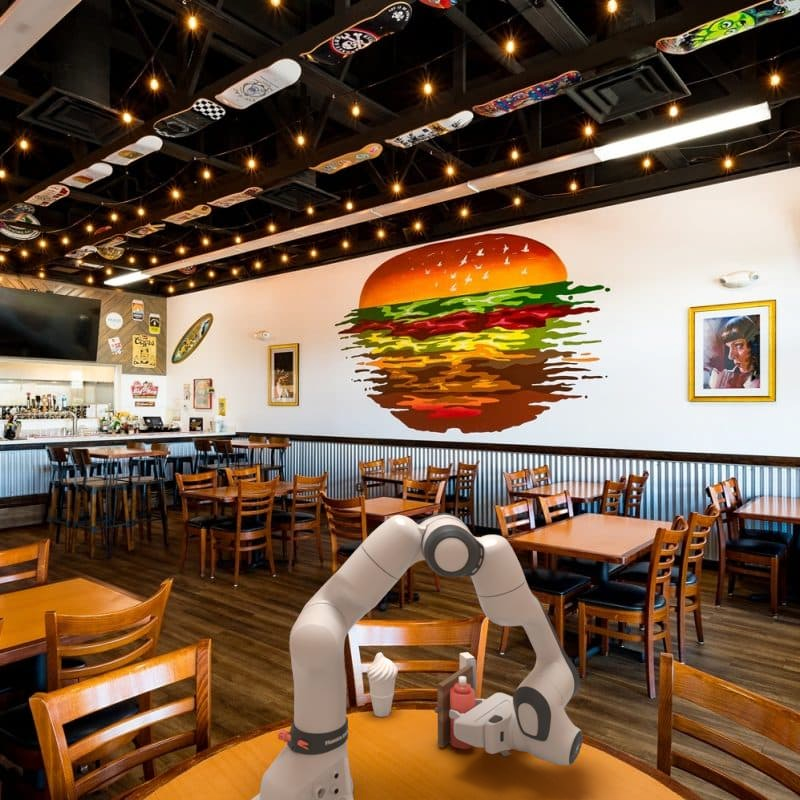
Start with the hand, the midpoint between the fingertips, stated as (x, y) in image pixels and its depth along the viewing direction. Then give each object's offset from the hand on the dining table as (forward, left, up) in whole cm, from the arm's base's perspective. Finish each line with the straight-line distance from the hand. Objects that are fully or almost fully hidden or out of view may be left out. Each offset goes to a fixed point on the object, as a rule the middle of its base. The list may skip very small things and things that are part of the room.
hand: (459, 706), depth 146 cm
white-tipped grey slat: (+9, -1, -9) cm, 13 cm away
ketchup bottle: (0, -1, -8) cm, 8 cm away
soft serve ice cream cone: (+1, +26, -10) cm, 27 cm away
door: (+4, +4, -9) cm, 10 cm away
